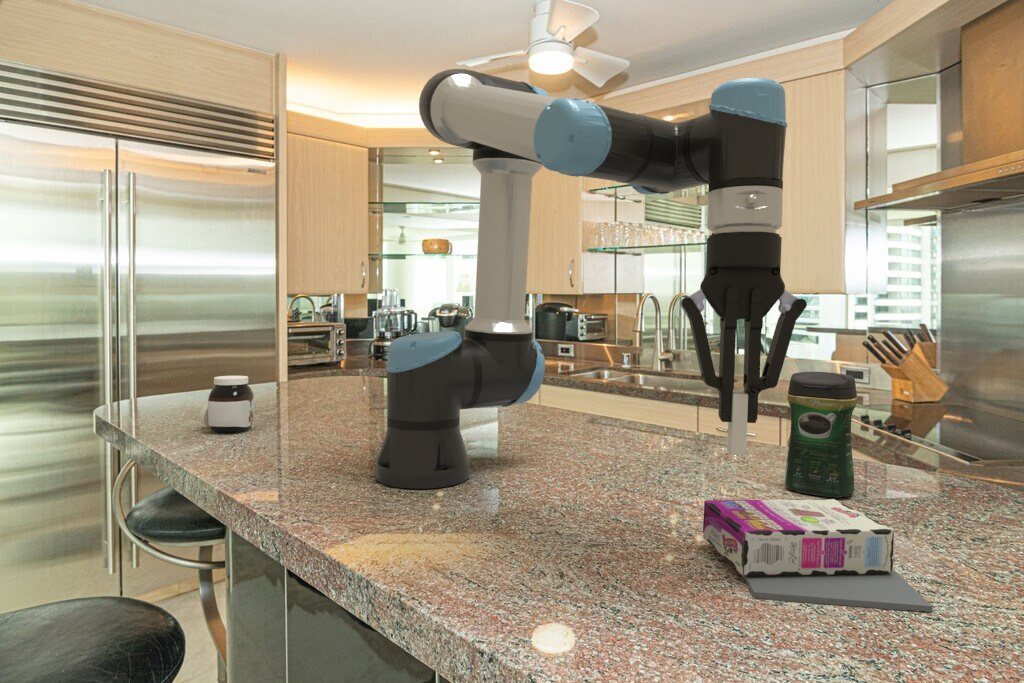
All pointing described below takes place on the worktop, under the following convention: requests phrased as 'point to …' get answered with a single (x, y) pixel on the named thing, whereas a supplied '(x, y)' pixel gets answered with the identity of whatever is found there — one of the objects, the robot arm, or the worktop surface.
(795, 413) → the coffee jar
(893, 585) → the mat
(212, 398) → the spread jar
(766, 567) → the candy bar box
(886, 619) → the worktop surface
